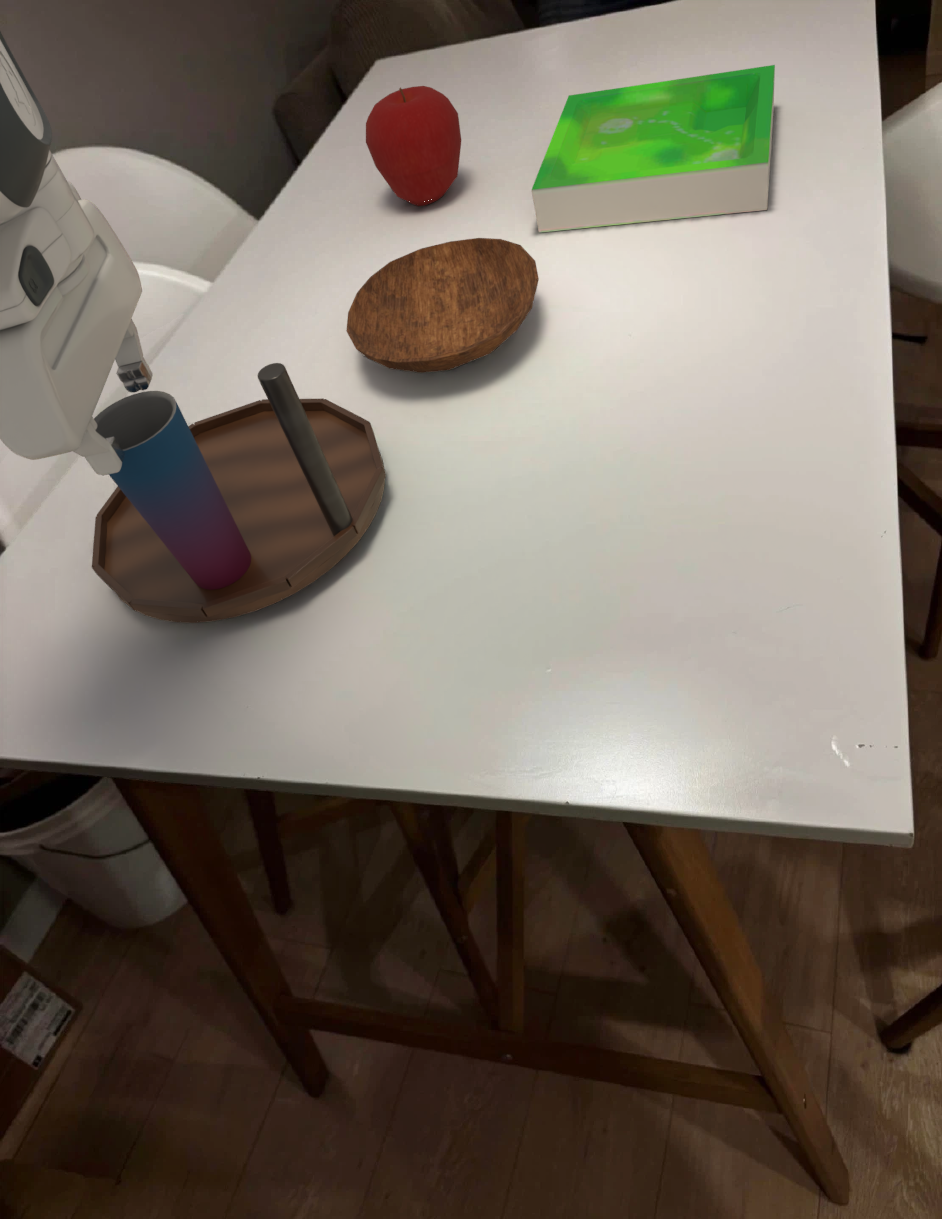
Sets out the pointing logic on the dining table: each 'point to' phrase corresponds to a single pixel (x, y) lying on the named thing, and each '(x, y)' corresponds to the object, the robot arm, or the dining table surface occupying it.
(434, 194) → the apple
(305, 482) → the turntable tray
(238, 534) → the cup
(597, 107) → the green flat block
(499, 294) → the bowl
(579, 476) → the dining table surface
